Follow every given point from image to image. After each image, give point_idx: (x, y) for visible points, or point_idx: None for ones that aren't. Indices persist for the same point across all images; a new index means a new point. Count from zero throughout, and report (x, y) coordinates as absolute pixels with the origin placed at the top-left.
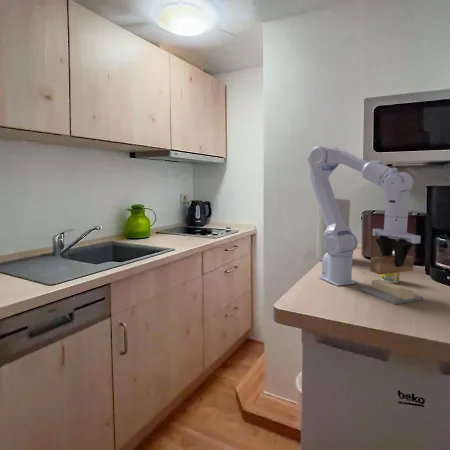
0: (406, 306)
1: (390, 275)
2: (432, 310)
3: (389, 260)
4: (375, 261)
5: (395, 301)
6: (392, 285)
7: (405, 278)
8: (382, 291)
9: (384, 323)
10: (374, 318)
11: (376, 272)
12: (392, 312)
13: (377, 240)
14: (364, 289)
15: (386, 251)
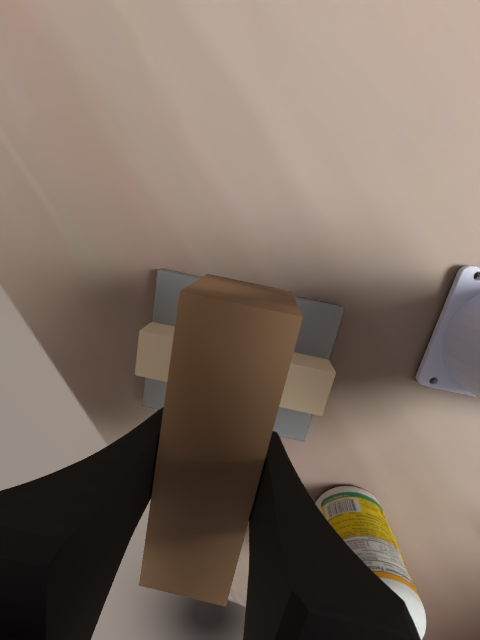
0: (129, 288)
1: (336, 515)
2: (67, 326)
3: (170, 381)
4: (245, 299)
5: (157, 272)
6: None
7: None
8: None
9: (42, 27)
10: (94, 37)
11: (235, 281)
12: (110, 177)
13: (376, 604)
14: (327, 305)
15: (265, 513)
